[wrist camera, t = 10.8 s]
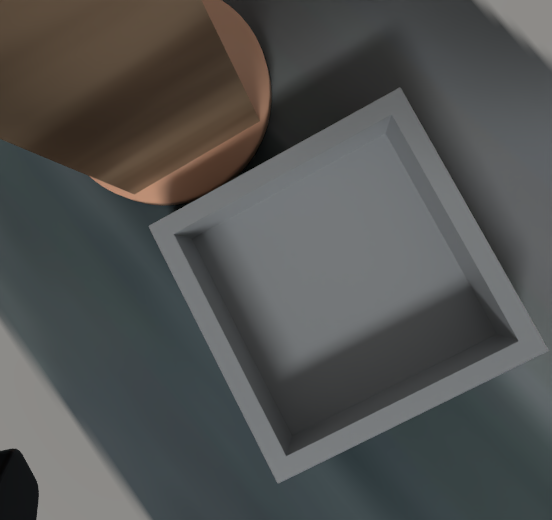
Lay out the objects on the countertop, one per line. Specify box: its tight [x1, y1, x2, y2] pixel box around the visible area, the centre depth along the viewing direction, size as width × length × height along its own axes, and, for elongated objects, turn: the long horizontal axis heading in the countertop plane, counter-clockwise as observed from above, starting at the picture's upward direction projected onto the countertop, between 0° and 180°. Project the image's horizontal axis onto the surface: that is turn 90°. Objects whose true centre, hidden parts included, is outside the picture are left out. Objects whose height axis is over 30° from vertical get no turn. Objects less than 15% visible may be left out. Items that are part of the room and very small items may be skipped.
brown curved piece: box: [90, 0, 272, 206], centre depth 18 cm, size 8×8×1 cm
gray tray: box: [149, 87, 549, 483], centre depth 17 cm, size 9×9×2 cm
